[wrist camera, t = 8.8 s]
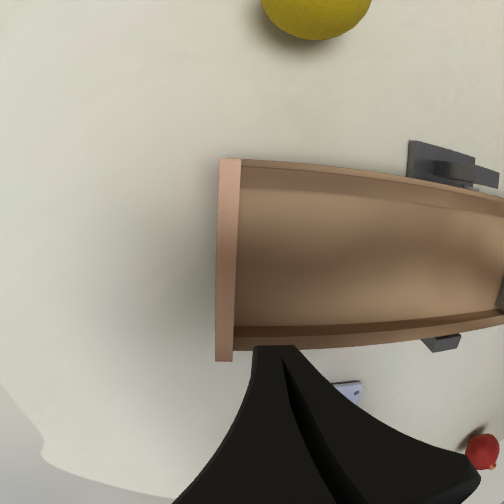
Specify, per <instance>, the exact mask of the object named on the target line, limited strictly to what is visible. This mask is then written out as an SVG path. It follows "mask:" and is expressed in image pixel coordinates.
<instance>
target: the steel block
mask: <svg viewBox="0 0 504 504" xmlns="http://www.w3.org/2000/svg"><path fill="white" fill-rule="evenodd" d="M495 306H496V307H498V308H499V309H501V310H502V311H503V312H504V275H503V278H502V282H501V285H500V289H499V292H498V295H497V298H496V302H495Z"/></svg>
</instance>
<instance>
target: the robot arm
mask: <svg viewBox="0 0 504 504" xmlns="http://www.w3.org/2000/svg"><path fill="white" fill-rule="evenodd" d="M362 389H363V385H362V383H361V382H353V383H345V384H335V385H332V384H331V383H330V382H329V381H328V380H327V379H326V378H324V377H323V376H322V375H321V374H320V373H319V372H318V370H317V369H316V368H315V367H314V366H313V365H312V364H311V363H310V362H309V361H308V360H307V359H306V358H305V356H304V355H303V354H302V353H301V352H300V351H299V350H298V349H297V348H296V347H295V346H294V345H257V346H255V347H254V348H253V356H252V369H251V378H250V381H249V385H248V388H247V391H246V394H245V396H244V399H243V402H242V404H241V407H240V409H239V411H238V413H237V415H236V418H235V420H234V422H233V423H232V425H231V427H230V429H229V431H228V433H227V434H226V436H225V438H224V439H223V441H222V443H221V444H220V446H219V448H218V449H217V451H216V452H215V454H214V455H213V456H212V458H211V459H210V460H209V462H208V463H207V464H206V466H205V467H204V468H203V470H202V471H201V472H200V473H199V475H198V476H197V477H196V478H195V479H194V481H193V482H192V483H191V484H190V485H189V486H188V487H187V488H186V489H185V490H184V491H183V492H182V493H181V494H180V495H179V497H178V498H177V499H176V500H175V501H174V502H173V503H172V504H461V503H462V502H463V501H465V499H467V498H468V497H469V496H470V495H471V494H472V493H473V492H474V491H475V490H476V489H477V487H478V485H479V484H480V481H481V476H480V475H479V473H478V472H477V470H476V469H475V467H474V466H473V464H472V463H471V461H470V459H469V458H468V457H467V455H464V454H460V453H457V452H453V451H449V450H445V449H442V448H438V447H435V446H432V445H429V444H427V443H424V442H422V441H419V440H417V439H414V438H412V437H410V436H407V435H405V434H403V433H401V432H399V431H397V430H395V429H393V428H392V427H390V426H388V425H386V424H384V423H382V422H381V421H379V420H377V419H376V418H374V417H373V416H371V415H370V414H368V413H367V412H365V411H364V410H362V409H361V408H360V407H358V406H357V403H358V400H359V397H360V395H361V392H362ZM501 504H504V502H502V503H501Z"/></svg>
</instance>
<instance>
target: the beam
mask: <svg viewBox="0 0 504 504" xmlns="http://www.w3.org/2000/svg"><path fill="white" fill-rule="evenodd" d="M503 275H504V199H503V198H500V197H496V196H492V195H488V194H484V193H480V192H479V189H477V188H473V187H469V186H464V185H462V188H459V187H454V186H449V185H445V184H440V183H435V182H430V181H425V180H419V179H414V178H408V177H403V176H397V175H391V174H384V173H378V172H371V171H364V170H357V169H349V168H341V167H333V166H324V165H314V164H304V163H293V162H281V161H267V160H251V159H231V158H220V165H219V186H218V212H217V243H216V294H215V361H221V362H232V358H233V351H253V348H254V347H255V346H257V345H294V346H295V347H296V348H297V349H298V350H304V349H324V348H340V347H353V346H365V345H375V344H385V343H394V342H402V341H410V340H417V339H425V338H431V337H438V336H444V335H450V334H456V333H462V332H467V331H473V330H478V329H483V328H487V327H492V326H497V325H501V324H504V312H503V311H502V310H501V309H499V308H498V307H496V306H495V302H496V298H497V295H498V292H499V289H500V285H501V282H502V278H503Z"/></svg>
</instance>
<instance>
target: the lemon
mask: <svg viewBox="0 0 504 504" xmlns="http://www.w3.org/2000/svg"><path fill="white" fill-rule="evenodd" d="M371 1H372V0H261V3H262V6H263V8H264V11H265V13H266V14H267V16H268V17H269V18H270V20H271V21H272V22H273V23H274V24H275V25H276V26H277V27H278V28H280V29H281V30H283V31H285V32H286V33H288V34H290V35H293V36H295V37H298V38H302V39H308V40H325V39H329V38H333V37H337V36H340V35H342V34H343V33H345V32H347V31H349V30H350V29H352V28H353V27H355V26H356V25H357V24H358V22H359V21H360V20H361V19H362V18H363V17H364V16H365V14H366V13H367V11H368V9H369V6H370V3H371Z"/></svg>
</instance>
